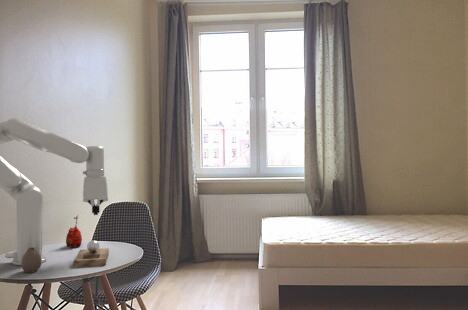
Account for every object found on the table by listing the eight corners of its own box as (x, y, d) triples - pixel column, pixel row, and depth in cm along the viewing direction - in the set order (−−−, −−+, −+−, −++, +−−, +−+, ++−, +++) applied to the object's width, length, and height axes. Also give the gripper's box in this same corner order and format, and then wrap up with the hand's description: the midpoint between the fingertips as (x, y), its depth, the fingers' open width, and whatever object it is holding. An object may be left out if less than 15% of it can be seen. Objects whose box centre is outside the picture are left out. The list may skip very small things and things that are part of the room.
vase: (33, 274, 150) (33, 250, 150) (17, 273, 151) (17, 249, 151) (45, 269, 157) (45, 246, 157) (29, 267, 158) (29, 245, 158)
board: (74, 267, 159) (74, 260, 159) (80, 255, 177) (80, 249, 177) (105, 265, 162) (105, 258, 162) (108, 253, 180) (108, 248, 180)
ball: (86, 253, 170) (86, 242, 170) (87, 250, 175) (87, 239, 175) (98, 253, 171) (98, 241, 171) (99, 250, 176) (99, 238, 176)
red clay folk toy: (62, 247, 192) (62, 215, 192) (74, 244, 198) (74, 213, 198) (74, 248, 188) (74, 217, 188) (85, 245, 195) (85, 214, 194)
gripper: (76, 174, 174) (76, 216, 175) (112, 173, 178) (112, 215, 178) (78, 173, 182) (79, 214, 182) (113, 172, 185) (113, 212, 186)
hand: (95, 214), depth 180 cm, fingers closed
